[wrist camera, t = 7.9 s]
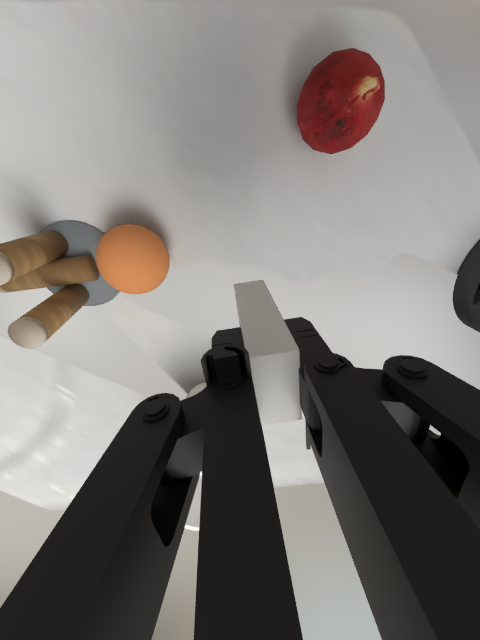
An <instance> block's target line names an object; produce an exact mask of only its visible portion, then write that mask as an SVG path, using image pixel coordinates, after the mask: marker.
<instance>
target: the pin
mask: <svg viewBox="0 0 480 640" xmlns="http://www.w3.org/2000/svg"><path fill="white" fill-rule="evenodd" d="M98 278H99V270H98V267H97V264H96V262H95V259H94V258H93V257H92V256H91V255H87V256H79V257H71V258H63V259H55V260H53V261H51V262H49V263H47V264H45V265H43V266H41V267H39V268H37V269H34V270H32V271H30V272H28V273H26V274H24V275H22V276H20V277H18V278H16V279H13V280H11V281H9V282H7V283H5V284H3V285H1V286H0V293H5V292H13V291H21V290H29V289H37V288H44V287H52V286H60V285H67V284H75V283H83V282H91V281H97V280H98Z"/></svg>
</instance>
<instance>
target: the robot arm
mask: <svg viewBox="0 0 480 640" xmlns="http://www.w3.org/2000/svg"><path fill="white" fill-rule="evenodd" d="M234 289H235V296H236V302H237V310H238V316H239V323H240V327H239V328H233V329H226V330H219V331H217V332H216V333H215V334H214V336H213V337H212V349H210V350H208V351H207V352H206V353H205V354H204V355H203V357H202V359H201V364H202V368H203V372H204V377H205V381H206V387H205V388H204V389H203V390H202V391H200V392H199V393H197V394H195V395H193V396H191V397H189V398H186V399H184V400H181V401H180V400H179V398H178V397H176V396H175V395H174V394H168V393H162V394H156V395H154V396H151V397H148V398H147V399H145V400H143V401H142V402H140V403H139V404H138V405H137V406H136V407H135V409H134V410H133V411H132V412H131V414H130V415H129V417H128V418H127V420H126V421H125V423H124V424H123V426H122V427H121V429H120V430H119V432H118V433H117V435H116V436H115V438H114V439H113V441H112V442H111V444H110V445H109V447H108V448H107V450H106V451H105V453H104V454H103V456H102V457H101V459H100V460H99V462H98V463H97V465H96V466H95V468H94V469H93V471H92V472H91V474H90V475H89V477H88V478H87V480H86V481H85V483H84V484H83V486H82V487H81V489H80V490H79V492H78V493H77V495H76V496H75V497H74V499H73V500H72V502H71V503H70V505H69V506H68V508H67V509H66V511H65V512H64V514H63V515H62V517H61V518H60V520H59V521H58V523H57V524H56V526H55V528H54V529H53V530H52V532H51V533H50V535H49V536H48V538H47V539H46V541H45V542H44V544H43V545H42V547H41V548H40V550H39V551H38V553H37V554H36V556H35V557H34V559H33V560H32V562H31V563H30V565H29V566H28V568H27V569H26V571H25V572H24V574H23V575H22V577H21V578H20V580H19V581H18V583H17V584H16V586H15V587H14V589H13V590H12V592H11V593H10V595H9V596H8V598H7V599H6V601H5V602H4V604H3V605H2V606H1V608H0V640H151V639H152V635H153V632H154V629H155V625H156V622H157V619H158V615H159V612H160V608H161V605H162V602H163V598H164V595H165V591H166V588H167V585H168V581H169V578H170V574H171V571H172V568H173V564H174V561H175V558H176V554H177V551H178V548H179V544H180V541H181V537H182V534H183V531H184V527H185V524H186V521H187V517H188V514H189V510H190V507H191V504H192V500H193V497H194V493H195V490H196V487H197V483H198V480H199V477H200V472H201V471H202V484H201V505H200V525H199V545H198V566H197V587H196V588H197V589H196V606H195V628H194V640H303V638H302V633H301V627H300V622H299V617H298V612H297V607H296V601H295V596H294V592H293V586H292V581H291V576H290V570H289V565H288V561H287V555H286V550H285V545H284V540H283V534H282V529H281V524H280V519H279V514H278V509H277V503H276V498H275V493H274V488H273V483H272V477H271V472H270V467H269V462H268V457H267V452H266V446H265V441H264V436H263V431H262V426H261V425H268V424H274V423H281V422H287V421H293V420H300V419H302V415H301V409H302V411H303V414H304V416H305V419H306V446H307V450H308V449H310V444H311V447H312V449H313V452H314V455H315V458H316V460H317V463H318V466H319V468H320V471H321V474H322V477H323V479H324V482H325V485H326V488H327V490H328V493H329V496H330V498H331V501H332V504H333V506H334V509H335V512H336V515H337V518H338V520H339V523H340V526H341V529H342V531H343V534H344V537H345V539H346V542H347V545H348V548H349V550H350V553H351V556H352V559H353V561H354V564H355V567H356V569H357V572H358V575H359V578H360V580H361V583H362V586H363V589H364V591H365V594H366V597H367V599H368V602H369V605H370V608H371V610H372V613H373V616H374V618H375V621H376V624H377V627H378V630H379V632H380V635H381V638H382V640H480V390H478V389H477V388H475V387H473V386H471V385H470V384H468V383H466V382H464V381H462V380H461V379H459V378H457V377H455V376H454V375H452V374H450V373H448V372H447V371H445V370H443V369H442V368H440V367H438V366H436V365H434V364H433V363H431V362H428V361H426V360H424V359H422V358H418V357H413V356H401V355H400V356H395V357H391V358H389V359H388V360H386V361H385V363H384V365H383V370H378V369H363V368H356V367H354V366H353V365H352V363H351V362H350V361H349V360H347V359H346V358H345V357H343V356H340V355H338V354H334V353H332V352H331V350H330V349H329V347H328V346H327V345H326V343H325V342H324V340H323V339H322V338H321V336H320V335H319V333H318V332H317V331H316V330H315V328H314V326H313V325H312V323H311V322H310V321H308V320H306V319H304V318H302V317H299V318H293V319H286V320H284V319H283V317H282V316H281V314H280V312H279V310H278V308H277V306H276V304H275V302H274V300H273V298H272V296H271V294H270V292H269V290H268V288H267V287H266V285H265V283H264V281H263V280H258V281H252V282H246V283H238V284H234ZM453 305H454V309H455V312H456V314H457V316H458V318H459V319H460V320H461V321H462V322H463V323H464V324H465V325H467V326H469V327H471V328H473V329H474V330H476V331H478V332H480V242H479V243H478V244H477V245H476V247H475V248H474V249H473V250H472V252H471V253H470V254H469V256H468V257H467V259H466V260H465V262H464V264H463V266H462V267H461V269H460V272H459V274H458V276H457V279H456V283H455V286H454V291H453ZM430 425H431V426H433V427H434V428H435V429H437V430H438V431H439V432H440V433H441V436H439V435H437V434H435V433H433V432H432V431H431V430H429V427H430Z"/></svg>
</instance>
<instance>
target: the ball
mask: <svg viewBox="0 0 480 640" xmlns="http://www.w3.org/2000/svg"><path fill="white" fill-rule="evenodd" d="M96 264H97V267H98V270H99V272H100V274H101V276H102V277H103V278H104V280H105V281H106V282H107V283H108V284H109V285H111V286H112V287H113V288H115V289H117V290H119V291H121V292H125V293H128V294H142V293H147V292H149V291H152V290H153V289H155V288H157V287H158V286H159V285H160V284H161V283H162V282H163V280H164V279H165V277H166V275H167V273H168V269H169V255H168V251H167V249H166V246H165V244H164V243H163V241H162V240H161V239H160V238H159V236H158V235H156V234H155V233H154V232H153V231H151V230H149V229H148V228H145V227H143V226H140V225H135V224H124V225H119V226H116V227H114V228H112V229H110V230H109V231H108V232H106V233H105V234H104V235H103V237H102V238H101V239H100V241H99V243H98V246H97V249H96Z"/></svg>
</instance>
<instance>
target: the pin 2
mask: <svg viewBox="0 0 480 640" xmlns="http://www.w3.org/2000/svg"><path fill="white" fill-rule="evenodd" d="M89 297H90V295H89V292H88V290H87V289H86V288H85V287H84V286H83V285H81V284H79V283H75V284H68V285H66V286H65V287H63V288H62V289H60V290H59V291H58V292H56V293H55V294H53V295H52V296H50V297H49V298H47V299H46V300H45V301H43V302H42V303H40V304H39V305H37V306H36V307H34V308H33V309H32V310H30V311H29V312H27V313H26V314H24V315H23V316H22V317H20V318H19V319H17V320H16V321H14V322H13V323H12V324H10V326H9V327H8V335H9V337H10V338H11V340H12V341H13V342H14V343H16V344H17V345H19V346H21V347H23V348H28V349H34V348H38V347H40V346H41V345H42V344H43V343H44V342H45V341H46V340H47V339H49V338H50V337H51V336H52V335H53V334H54V333H55V332H56V331H57V330H58V329H59V328H60V327H61V326H62V325H63V324H64V323H65V322H66V321H68V320H69V319H70V317H72V316H73V315H74V314H75V313H76V312H77V311H78V310H79V309H80V308H81V307H82V306H83V305H84V304H85V303H87V302H88V300H89Z"/></svg>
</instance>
